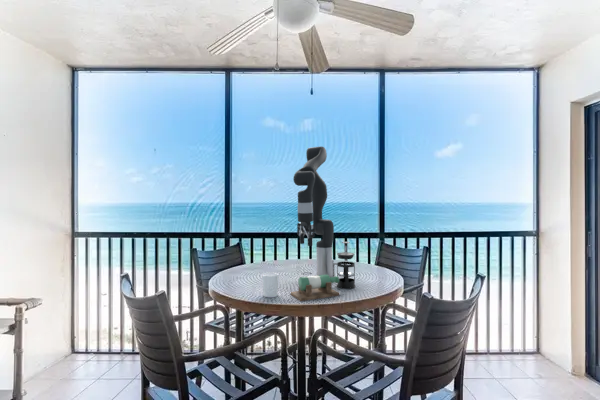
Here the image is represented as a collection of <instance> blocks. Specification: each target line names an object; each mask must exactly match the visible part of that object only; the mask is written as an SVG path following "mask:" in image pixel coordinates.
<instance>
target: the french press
mask: <svg viewBox="0 0 600 400" xmlns="http://www.w3.org/2000/svg"><path fill="white" fill-rule="evenodd" d="M341 243H342V244H344V246H345V250H344V252H337V258H338V259H339V260H352V259H354V256H355V254H356V253H354V252H349V251H347V244H350V242H349V241H341ZM355 264H356V263H355V262H353V261H338V262H336V263H335V262H334V264H333V269H334V270H335V265H336V266H337V267H336V269H337V270H336V276H338V277H340V278H339V283H336V288H339V289H345V290H348V289H349V290H350V289H355V288H356V279H355V278H356V277H355V276H356V273H355V271H356V265H355ZM339 268H343V272H339ZM349 268H353V272H350V271H349ZM350 277H351V278H350ZM352 277H353V278H352Z"/></svg>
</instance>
